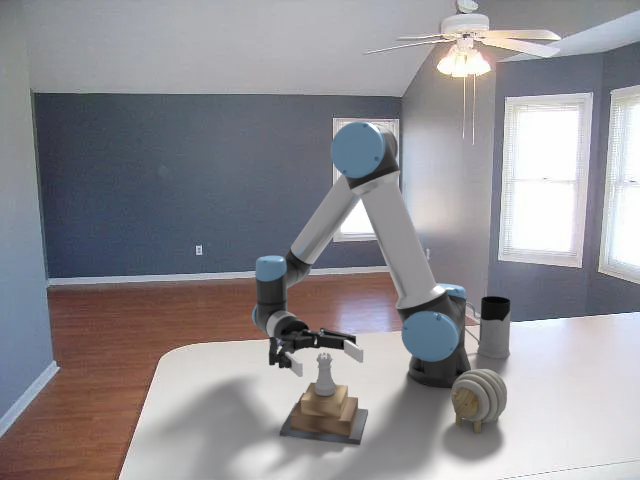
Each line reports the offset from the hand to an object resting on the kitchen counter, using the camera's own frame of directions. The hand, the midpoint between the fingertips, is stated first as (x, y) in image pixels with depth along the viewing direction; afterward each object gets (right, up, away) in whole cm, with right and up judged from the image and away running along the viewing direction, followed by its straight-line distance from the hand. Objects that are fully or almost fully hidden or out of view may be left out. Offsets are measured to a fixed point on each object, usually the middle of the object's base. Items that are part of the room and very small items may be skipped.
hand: (332, 363), depth 100 cm
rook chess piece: (-1, -7, +4) cm, 8 cm away
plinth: (-1, -14, +5) cm, 15 cm away
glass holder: (+43, -7, +43) cm, 61 cm away
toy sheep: (+30, -14, +5) cm, 34 cm away
